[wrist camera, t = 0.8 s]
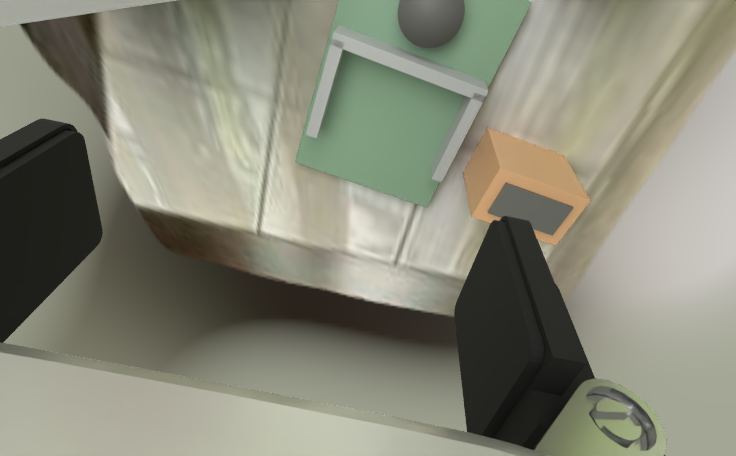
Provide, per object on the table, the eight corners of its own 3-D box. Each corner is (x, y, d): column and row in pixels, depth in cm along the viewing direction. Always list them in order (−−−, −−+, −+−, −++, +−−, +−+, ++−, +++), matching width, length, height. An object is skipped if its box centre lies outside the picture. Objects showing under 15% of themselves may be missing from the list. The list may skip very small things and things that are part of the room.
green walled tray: (359, -70, 33) (353, -69, 30) (528, 0, 34) (538, 8, 31) (297, 156, 44) (289, 174, 41) (426, 201, 46) (427, 221, 43)
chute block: (487, 127, 41) (501, 169, 34) (563, 155, 42) (592, 202, 35) (463, 171, 44) (471, 218, 37) (535, 197, 45) (556, 247, 38)
